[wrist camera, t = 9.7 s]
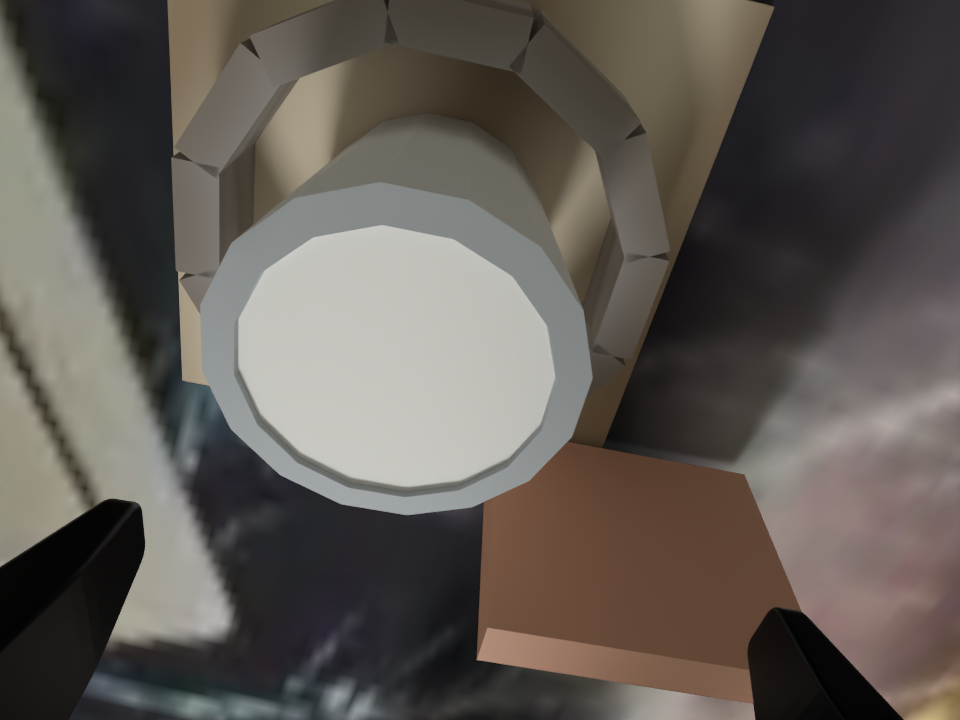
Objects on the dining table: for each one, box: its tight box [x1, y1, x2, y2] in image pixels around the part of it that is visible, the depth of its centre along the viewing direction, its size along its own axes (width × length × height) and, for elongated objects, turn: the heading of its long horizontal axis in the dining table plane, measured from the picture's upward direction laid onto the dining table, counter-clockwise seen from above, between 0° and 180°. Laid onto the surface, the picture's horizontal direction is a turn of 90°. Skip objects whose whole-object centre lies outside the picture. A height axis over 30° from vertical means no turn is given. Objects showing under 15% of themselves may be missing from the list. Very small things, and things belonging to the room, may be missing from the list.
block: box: [477, 442, 801, 704], centre depth 19 cm, size 8×1×7 cm, turn 79°
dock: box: [168, 0, 774, 448], centre depth 17 cm, size 13×13×3 cm
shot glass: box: [200, 113, 593, 515], centre depth 15 cm, size 7×7×7 cm
